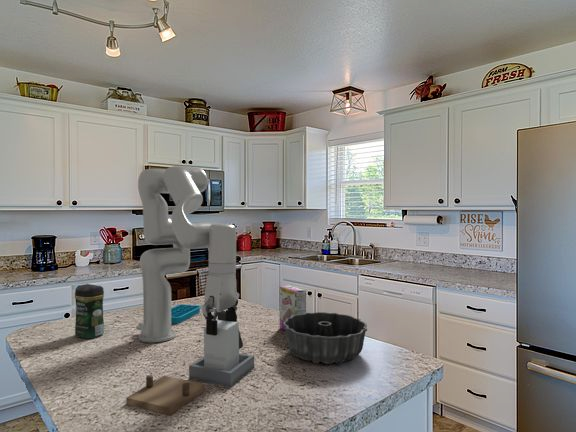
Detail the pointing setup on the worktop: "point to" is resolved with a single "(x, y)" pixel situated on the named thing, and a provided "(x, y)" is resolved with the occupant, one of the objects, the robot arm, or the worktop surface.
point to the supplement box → (222, 346)
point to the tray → (221, 371)
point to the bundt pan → (325, 336)
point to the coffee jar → (89, 311)
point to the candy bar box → (291, 302)
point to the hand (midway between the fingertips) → (221, 329)
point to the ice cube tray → (183, 312)
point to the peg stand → (165, 394)
